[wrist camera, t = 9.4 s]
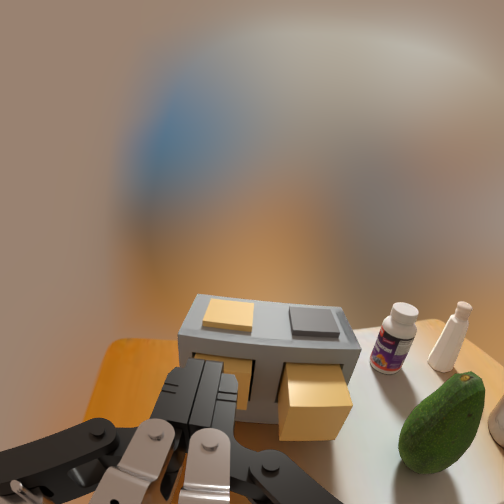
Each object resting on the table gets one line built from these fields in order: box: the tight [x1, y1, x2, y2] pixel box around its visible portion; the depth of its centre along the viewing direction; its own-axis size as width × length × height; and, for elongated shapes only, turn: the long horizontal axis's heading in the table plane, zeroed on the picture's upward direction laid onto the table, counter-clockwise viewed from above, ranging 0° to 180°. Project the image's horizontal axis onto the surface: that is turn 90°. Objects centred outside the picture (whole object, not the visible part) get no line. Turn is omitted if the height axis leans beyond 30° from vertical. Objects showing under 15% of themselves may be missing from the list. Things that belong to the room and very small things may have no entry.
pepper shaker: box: [427, 302, 472, 373], centre depth 33 cm, size 5×5×11 cm
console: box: [178, 294, 362, 424], centre depth 27 cm, size 16×8×12 cm, turn 88°
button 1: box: [194, 353, 252, 410], centre depth 26 cm, size 5×8×5 cm, turn 178°
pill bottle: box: [370, 302, 419, 374], centre depth 34 cm, size 5×5×10 cm
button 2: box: [277, 362, 353, 441], centre depth 22 cm, size 5×8×5 cm, turn 178°
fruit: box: [398, 371, 485, 474], centre depth 17 cm, size 8×8×12 cm
